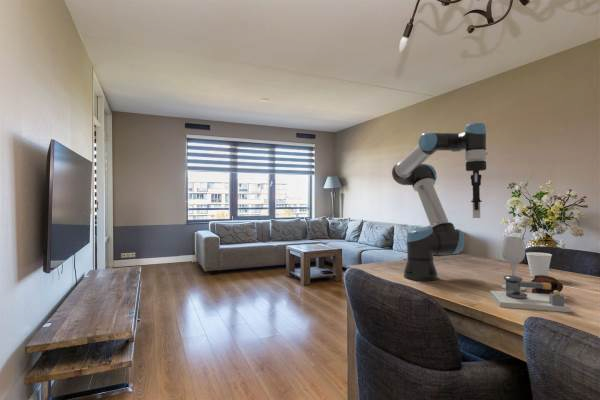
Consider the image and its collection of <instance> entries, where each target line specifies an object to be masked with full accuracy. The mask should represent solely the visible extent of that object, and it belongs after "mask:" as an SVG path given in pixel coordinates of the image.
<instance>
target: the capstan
mask: <svg viewBox="0 0 600 400" xmlns="http://www.w3.org/2000/svg"><path fill="white" fill-rule="evenodd" d="M503 279H504V280H505V284H506V289H505V291H506V296H508V297H512V298H518V299H525V298H527V294H526V293H527V292H524V291H520V287H525V288H529V289H530V288H531V289H534V288H542V289H551V284H550V283H543V282H541V283H538V282H531V281H523V277H522V276H517V275H515V276H512V274H511V275H503Z"/></svg>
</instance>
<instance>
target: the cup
mask: <svg viewBox="0 0 600 400" xmlns="http://www.w3.org/2000/svg"><path fill="white" fill-rule="evenodd" d="M525 255H526V258H527V263H528V269H529V273H530V277H531V278H533V279H535V277H534V276H536V275H545V276H549V270H550V265H551V259H552V257H553V254H551V253H546V252H535V251H533V252H532V251H531V252H525Z"/></svg>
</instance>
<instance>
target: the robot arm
mask: <svg viewBox="0 0 600 400" xmlns="http://www.w3.org/2000/svg"><path fill="white" fill-rule="evenodd" d="M486 129H487V128H486V124H485V123H483V122H472V123H468V124H466V126H465V128H464V131H463V132H458V133H456V132H455V133H454V132H450V133H449V132H447V133H446V132H445V133H444V132H441V133H440V132H425V133H424V132H423V133H422V134H421V135H420V136H419V138H418V145H417V146H415V148H413V149H412V151H411V152H410V153H408V154H407V156H405V157H404V158H403V159H402V160H400V161H397V162H396V164H395V165H393V168H392V171H391V175H392V178H393V180H394V181H395V182H396V183H397V184H399V185H402V186H412V188H413V190H414V191H415V192H417V194H418V197H419V198H420V201H421V205H422V207H423V210H424V212H425V215H426V217H427V220H428V222H429V225H430V226H427V227H416V228H412V229H409V230H408V231H407V234H406V235H407V236H406V247H407V248H406V251H407V252H406V253H407V261H406V264H405V267H404V270H403V278H405V279H408V280H413V281H422V282H425V281H426V282H428V281H435V280H438V274H439V273H438V272H437V271H438V270H437V269H436V265H435V262H434V255H453V254H460V252H461V251H462V250H463V249H464V246H465V235H464V232H463V231H462V230H461V229H459V228H458V229H457V228H456V227H455V226H454V224H453V222H450V221H449V220H448V217H447V215H446V213H445V210H444V207H443V206H442V203H441V201H440V198H439V196H438V193H437V191H436V189H435V184H436V181H437V171H436V169H435V167H433V165H431V164H426V163H424V162H425V161H426V160H427V159H429V158H430V157H431V156H432V155H434V153H436V152H437V151H450V152H461V151H464V150H465V156H464V157H465V161H466V162H465V171H466V172H472V174H471V175H470V180H471V182H470V183H471V186H472V200H470V202H471V203H472V218H473V219H481V203H482V202H483V200H481V196H480V195H481V194H480V187H481V185H482V174H480V172H482V171H486V170H487V161H486V160H487V155H488V154H489V153H488V152H487V130H486Z"/></svg>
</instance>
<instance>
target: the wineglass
mask: <svg viewBox="0 0 600 400" xmlns="http://www.w3.org/2000/svg"><path fill="white" fill-rule="evenodd" d="M525 255H526V248H525V242H524V239H523V237H522V236H521V237H520V236H504V237H503V239H502V242H501V256H502V258H503V259H504V260H505V262H507V263H508V264H510V267H511V276H516V274H515V273H516V271H515V270H516V266H517V264H520V263H521V262H523V260H524V259H525ZM501 288H502V289H505V290H506V283H504V284H502V285H501ZM526 290H527V287H520V292H524V291H526Z"/></svg>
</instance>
